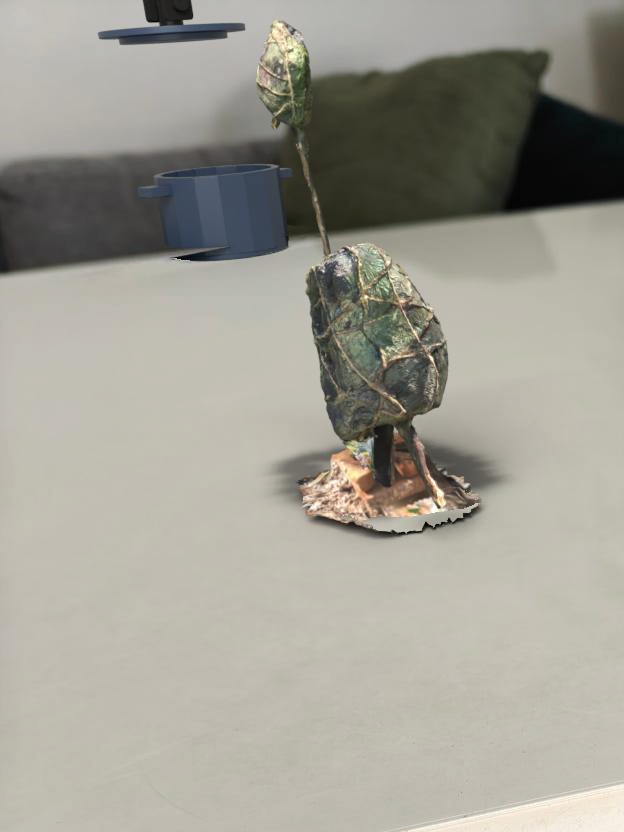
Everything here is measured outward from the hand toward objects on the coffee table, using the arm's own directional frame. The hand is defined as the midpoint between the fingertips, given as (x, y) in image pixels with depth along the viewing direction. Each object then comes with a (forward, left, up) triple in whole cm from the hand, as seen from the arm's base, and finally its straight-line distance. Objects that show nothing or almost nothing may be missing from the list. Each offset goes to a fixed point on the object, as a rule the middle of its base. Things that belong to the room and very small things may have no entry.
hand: (170, 19), depth 114 cm
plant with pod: (+75, -41, -23) cm, 88 cm away
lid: (0, 0, -1) cm, 1 cm away
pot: (-2, +4, -23) cm, 24 cm away
